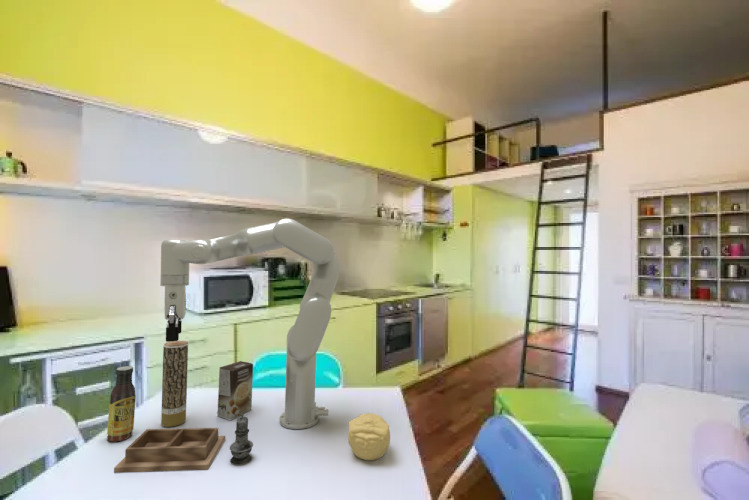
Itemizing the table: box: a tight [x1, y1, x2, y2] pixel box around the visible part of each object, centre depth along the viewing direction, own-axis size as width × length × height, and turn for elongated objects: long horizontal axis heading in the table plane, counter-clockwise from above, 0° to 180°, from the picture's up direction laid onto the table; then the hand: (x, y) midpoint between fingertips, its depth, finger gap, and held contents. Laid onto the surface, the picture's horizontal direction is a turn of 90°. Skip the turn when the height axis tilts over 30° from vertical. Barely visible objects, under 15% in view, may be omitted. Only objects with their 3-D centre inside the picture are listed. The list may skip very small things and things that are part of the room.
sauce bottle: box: [106, 365, 137, 443], centre depth 103 cm, size 7×6×20 cm
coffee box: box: [216, 360, 254, 421], centre depth 120 cm, size 9×6×16 cm
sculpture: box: [347, 412, 391, 461], centre depth 98 cm, size 12×12×11 cm
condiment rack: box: [113, 427, 226, 473], centre depth 95 cm, size 22×14×4 cm, turn 96°
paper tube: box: [160, 340, 189, 428], centre depth 112 cm, size 7×7×25 cm
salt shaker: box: [229, 414, 254, 466], centre depth 94 cm, size 6×6×12 cm
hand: (173, 337), depth 107 cm, fingers open, 9 cm apart
